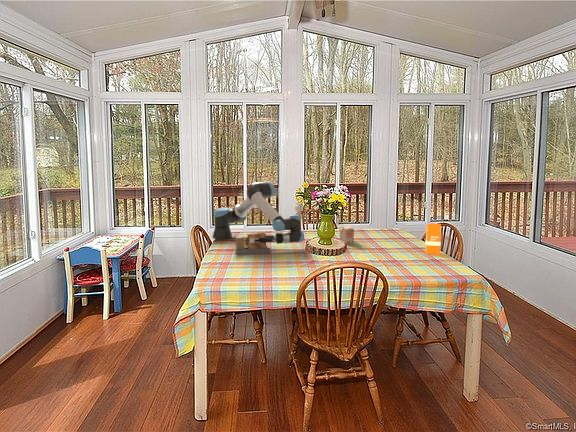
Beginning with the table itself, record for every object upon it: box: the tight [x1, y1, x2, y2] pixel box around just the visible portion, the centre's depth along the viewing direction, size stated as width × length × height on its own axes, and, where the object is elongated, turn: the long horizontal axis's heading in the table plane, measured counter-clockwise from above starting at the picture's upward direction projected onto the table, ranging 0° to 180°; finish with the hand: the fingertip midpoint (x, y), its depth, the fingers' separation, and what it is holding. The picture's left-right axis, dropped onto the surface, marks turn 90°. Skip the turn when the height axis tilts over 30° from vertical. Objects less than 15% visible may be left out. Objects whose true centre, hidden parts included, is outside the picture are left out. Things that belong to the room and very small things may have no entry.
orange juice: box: [424, 223, 442, 255], centre depth 304 cm, size 8×9×20 cm
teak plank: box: [245, 232, 267, 249], centre depth 308 cm, size 14×4×10 cm, turn 107°
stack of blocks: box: [339, 225, 355, 246], centre depth 339 cm, size 21×6×12 cm, turn 5°
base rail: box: [234, 235, 271, 256], centre depth 307 cm, size 22×9×11 cm, turn 107°
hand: (248, 240), depth 306 cm, fingers closed on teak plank, 4 cm apart
